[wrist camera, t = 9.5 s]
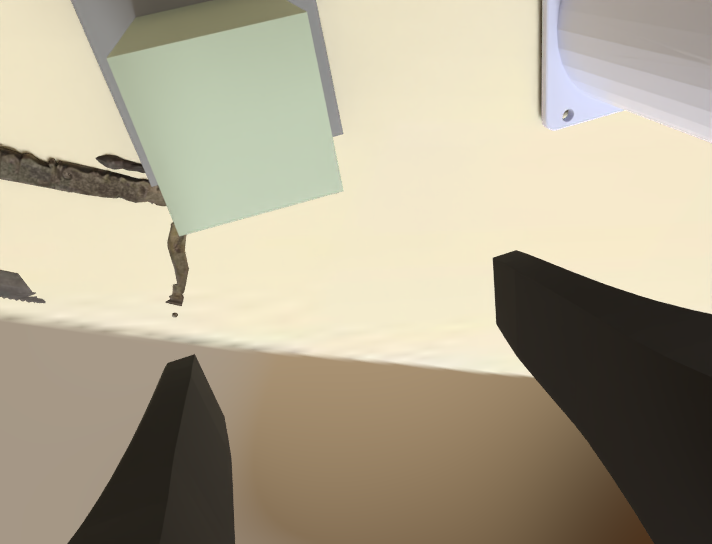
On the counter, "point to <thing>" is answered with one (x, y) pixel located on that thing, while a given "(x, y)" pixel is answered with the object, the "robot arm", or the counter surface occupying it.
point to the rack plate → (124, 3)
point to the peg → (228, 109)
